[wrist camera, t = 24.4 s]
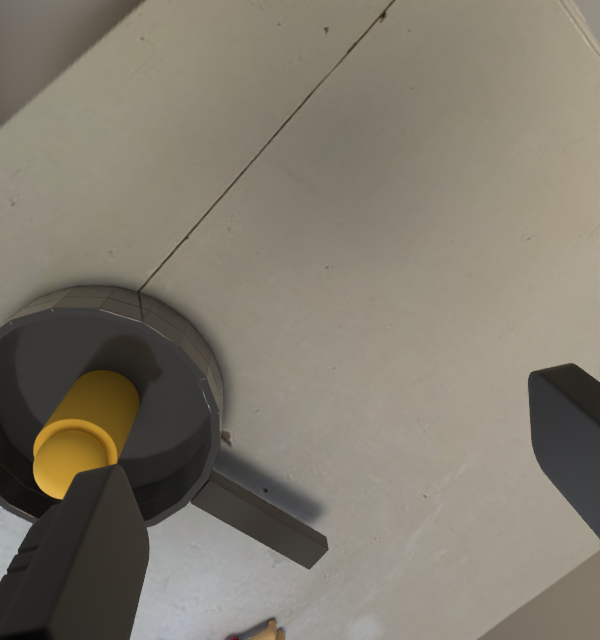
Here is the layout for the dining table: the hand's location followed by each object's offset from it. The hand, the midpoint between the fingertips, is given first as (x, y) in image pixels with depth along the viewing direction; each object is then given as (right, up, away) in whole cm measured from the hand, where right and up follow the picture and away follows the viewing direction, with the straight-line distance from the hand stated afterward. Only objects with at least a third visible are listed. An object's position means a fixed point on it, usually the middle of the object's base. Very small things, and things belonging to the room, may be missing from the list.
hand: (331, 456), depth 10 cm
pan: (-15, -3, +30) cm, 33 cm away
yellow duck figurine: (-15, -3, +29) cm, 33 cm away
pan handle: (-4, -12, +30) cm, 33 cm away
